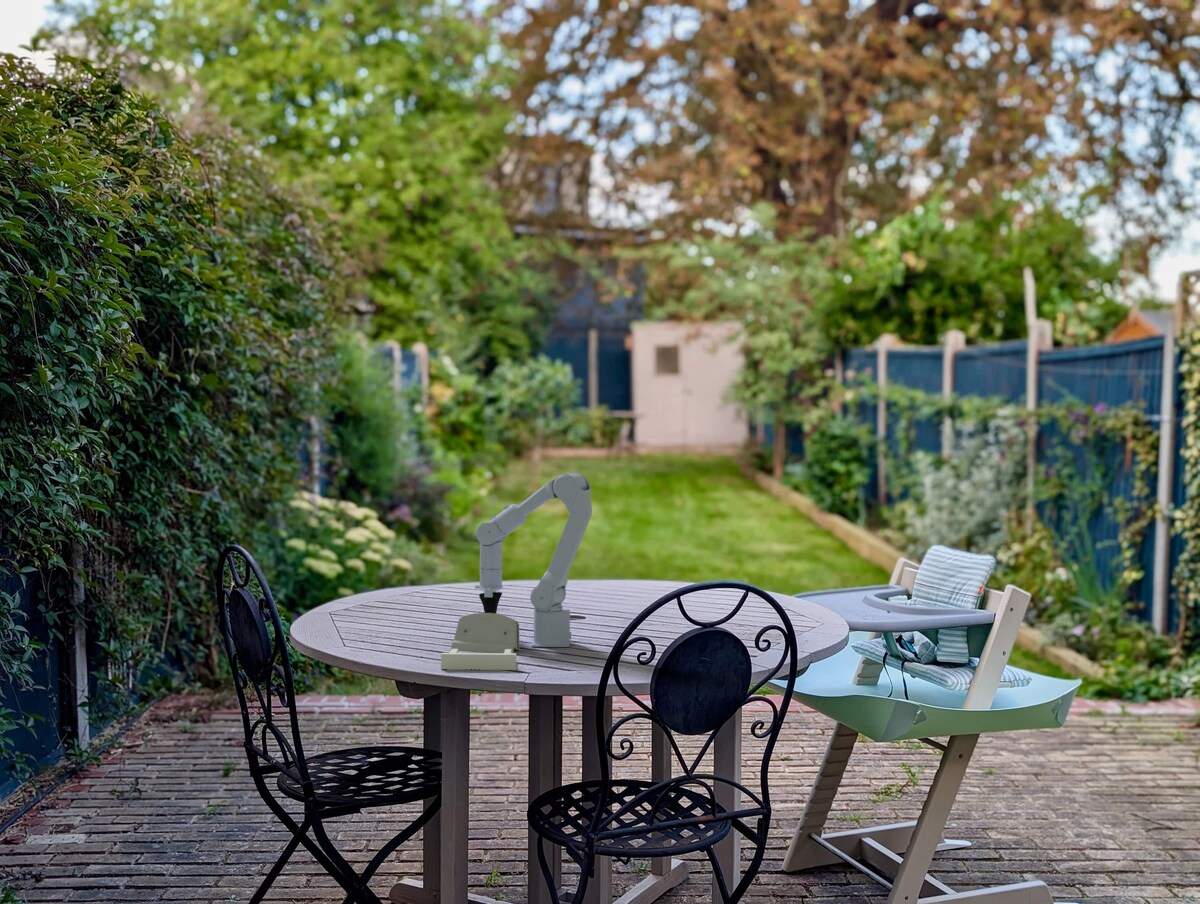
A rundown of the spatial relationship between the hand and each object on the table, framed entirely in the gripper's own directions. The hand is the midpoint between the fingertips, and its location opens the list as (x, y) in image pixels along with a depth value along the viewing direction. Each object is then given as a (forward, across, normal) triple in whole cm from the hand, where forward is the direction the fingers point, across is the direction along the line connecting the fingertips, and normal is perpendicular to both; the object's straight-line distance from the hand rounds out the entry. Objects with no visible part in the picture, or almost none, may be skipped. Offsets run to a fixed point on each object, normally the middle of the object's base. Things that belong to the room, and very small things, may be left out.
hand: (490, 621), depth 290 cm
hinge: (+5, +11, 0) cm, 12 cm away
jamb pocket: (+5, +29, 0) cm, 30 cm away
